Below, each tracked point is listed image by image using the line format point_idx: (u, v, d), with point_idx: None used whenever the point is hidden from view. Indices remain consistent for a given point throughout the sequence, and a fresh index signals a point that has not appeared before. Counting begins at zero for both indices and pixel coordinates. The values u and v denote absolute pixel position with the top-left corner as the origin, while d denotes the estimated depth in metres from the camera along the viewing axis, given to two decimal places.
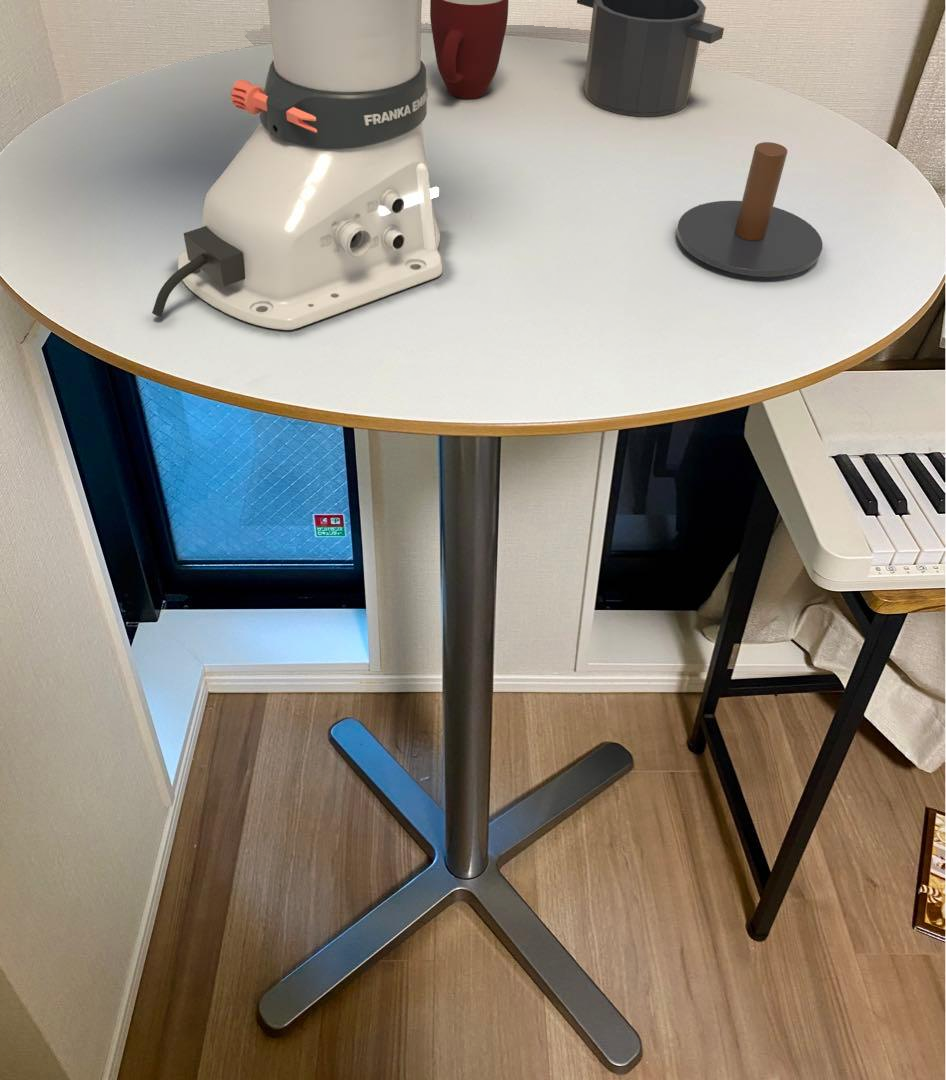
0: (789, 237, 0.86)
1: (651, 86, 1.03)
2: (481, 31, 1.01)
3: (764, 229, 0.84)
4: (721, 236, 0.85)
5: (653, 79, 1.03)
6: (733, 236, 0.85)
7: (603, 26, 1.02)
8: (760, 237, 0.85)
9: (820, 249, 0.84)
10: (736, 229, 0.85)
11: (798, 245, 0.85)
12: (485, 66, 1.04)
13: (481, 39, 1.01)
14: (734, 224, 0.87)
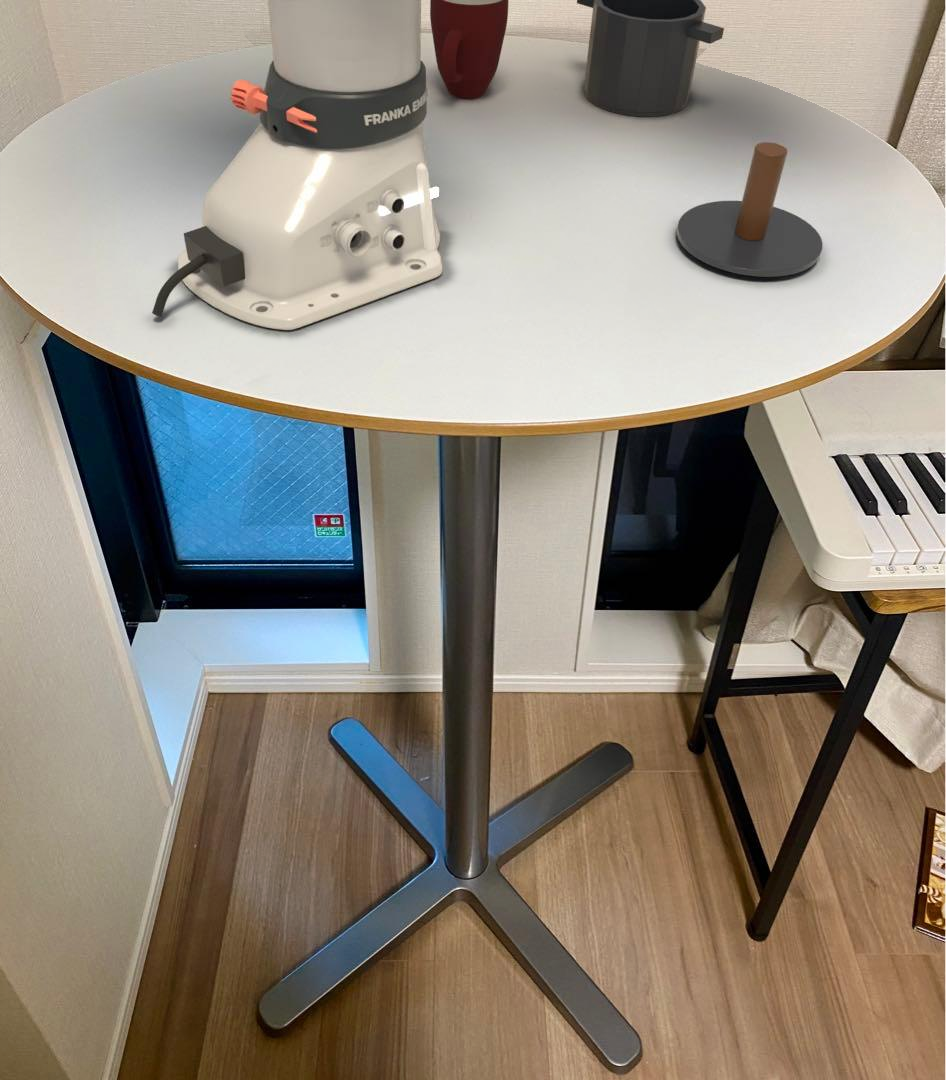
0: (789, 237, 0.86)
1: (651, 86, 1.03)
2: (481, 31, 1.01)
3: (764, 229, 0.84)
4: (721, 236, 0.85)
5: (653, 79, 1.03)
6: (733, 236, 0.85)
7: (603, 26, 1.02)
8: (760, 237, 0.85)
9: (820, 249, 0.84)
10: (736, 229, 0.85)
11: (798, 245, 0.85)
12: (485, 66, 1.04)
13: (481, 39, 1.01)
14: (734, 224, 0.87)
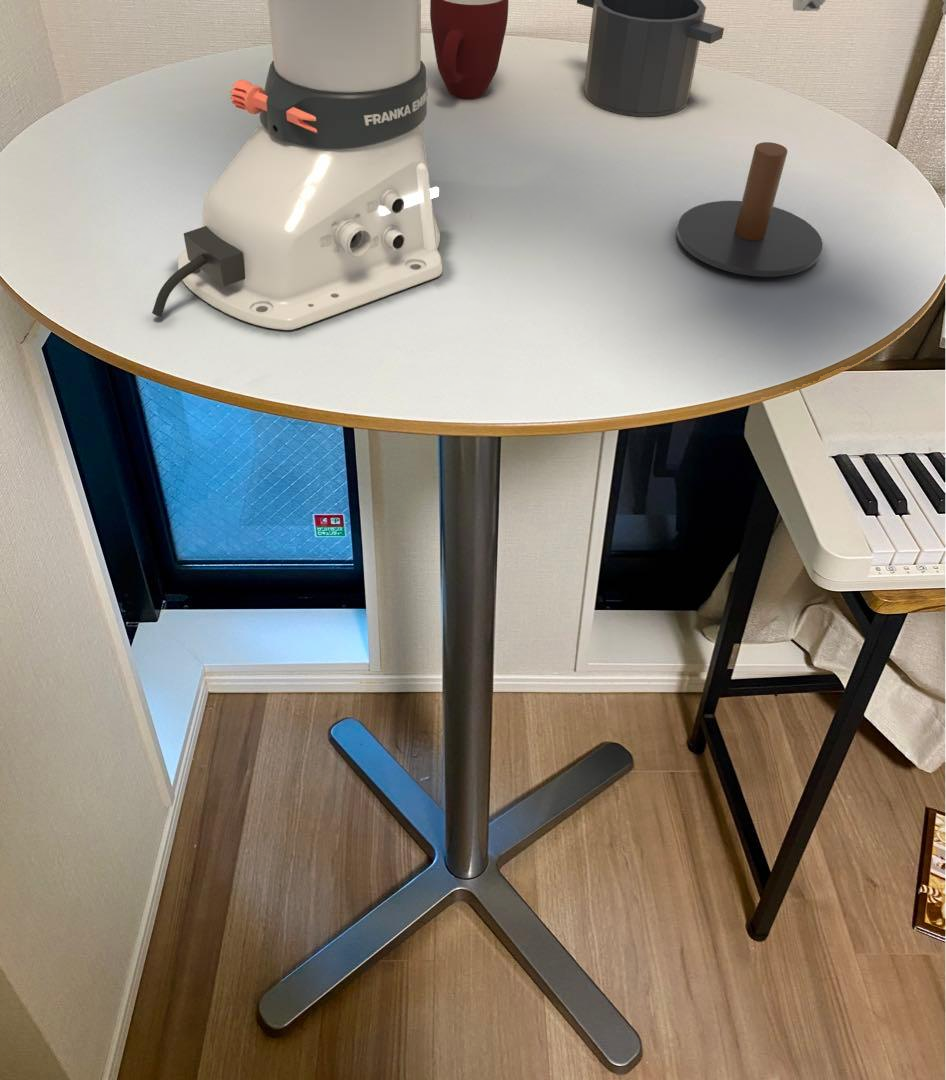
0: (789, 237, 0.86)
1: (651, 86, 1.03)
2: (481, 31, 1.01)
3: (764, 229, 0.84)
4: (721, 236, 0.85)
5: (653, 79, 1.03)
6: (733, 236, 0.85)
7: (603, 26, 1.02)
8: (760, 237, 0.85)
9: (820, 249, 0.84)
10: (736, 229, 0.85)
11: (798, 245, 0.85)
12: (485, 66, 1.04)
13: (481, 39, 1.01)
14: (734, 224, 0.87)
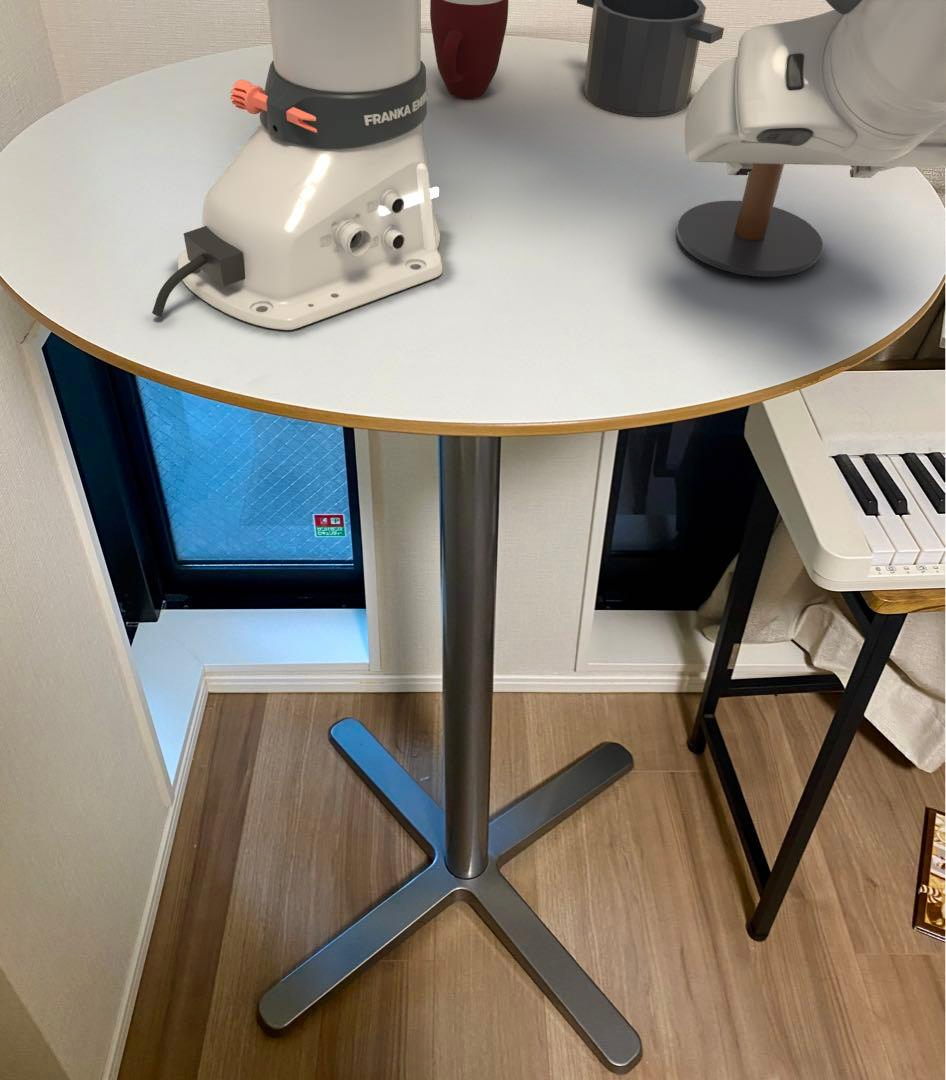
0: (789, 237, 0.86)
1: (651, 86, 1.03)
2: (481, 31, 1.01)
3: (764, 229, 0.84)
4: (721, 236, 0.85)
5: (653, 79, 1.03)
6: (733, 236, 0.85)
7: (603, 26, 1.02)
8: (760, 237, 0.85)
9: (820, 249, 0.84)
10: (736, 229, 0.85)
11: (798, 245, 0.85)
12: (485, 66, 1.04)
13: (481, 39, 1.01)
14: (734, 224, 0.87)
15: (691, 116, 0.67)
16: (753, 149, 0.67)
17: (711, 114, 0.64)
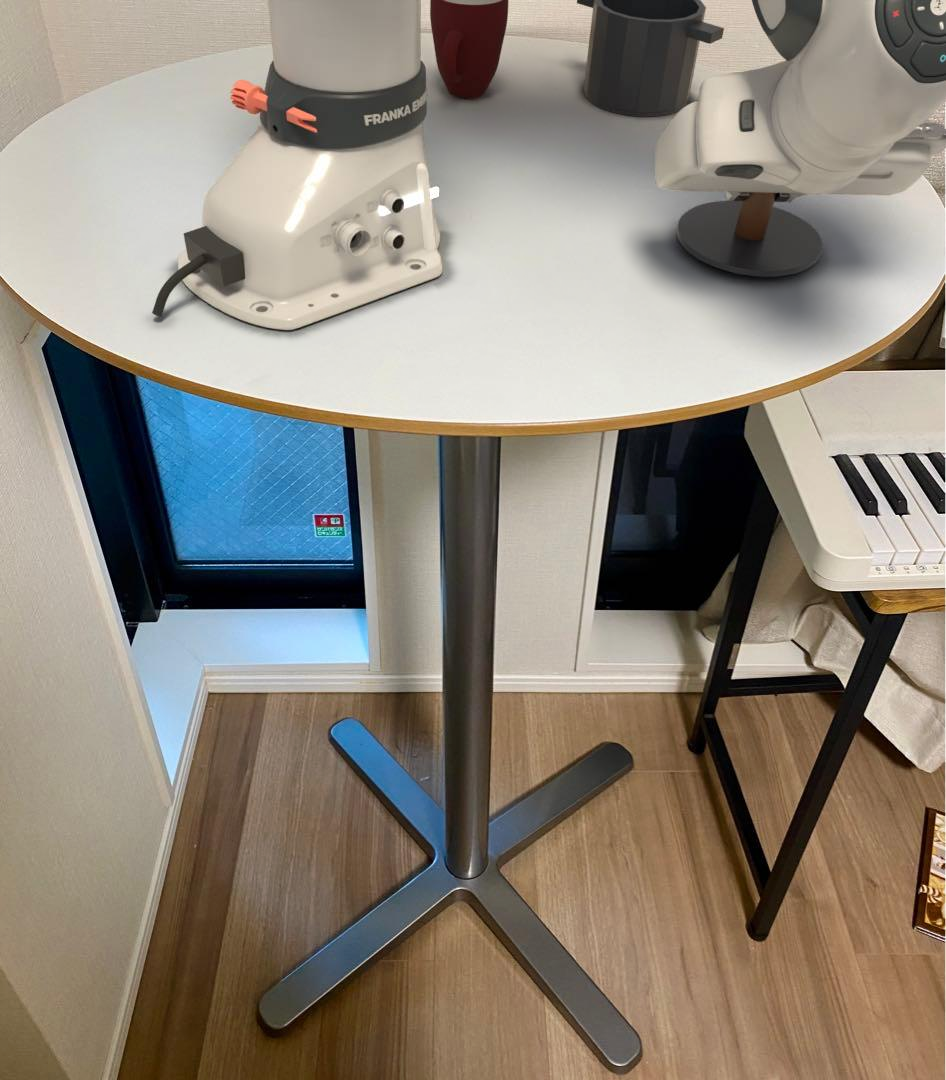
0: (789, 237, 0.86)
1: (651, 86, 1.03)
2: (481, 31, 1.01)
3: (764, 229, 0.84)
4: (721, 236, 0.85)
5: (653, 79, 1.03)
6: (733, 236, 0.85)
7: (603, 26, 1.02)
8: (760, 237, 0.85)
9: (820, 249, 0.84)
10: (736, 229, 0.85)
11: (798, 245, 0.85)
12: (485, 66, 1.04)
13: (481, 39, 1.01)
14: (734, 224, 0.87)
15: (660, 150, 0.76)
16: (714, 180, 0.76)
17: (676, 150, 0.73)
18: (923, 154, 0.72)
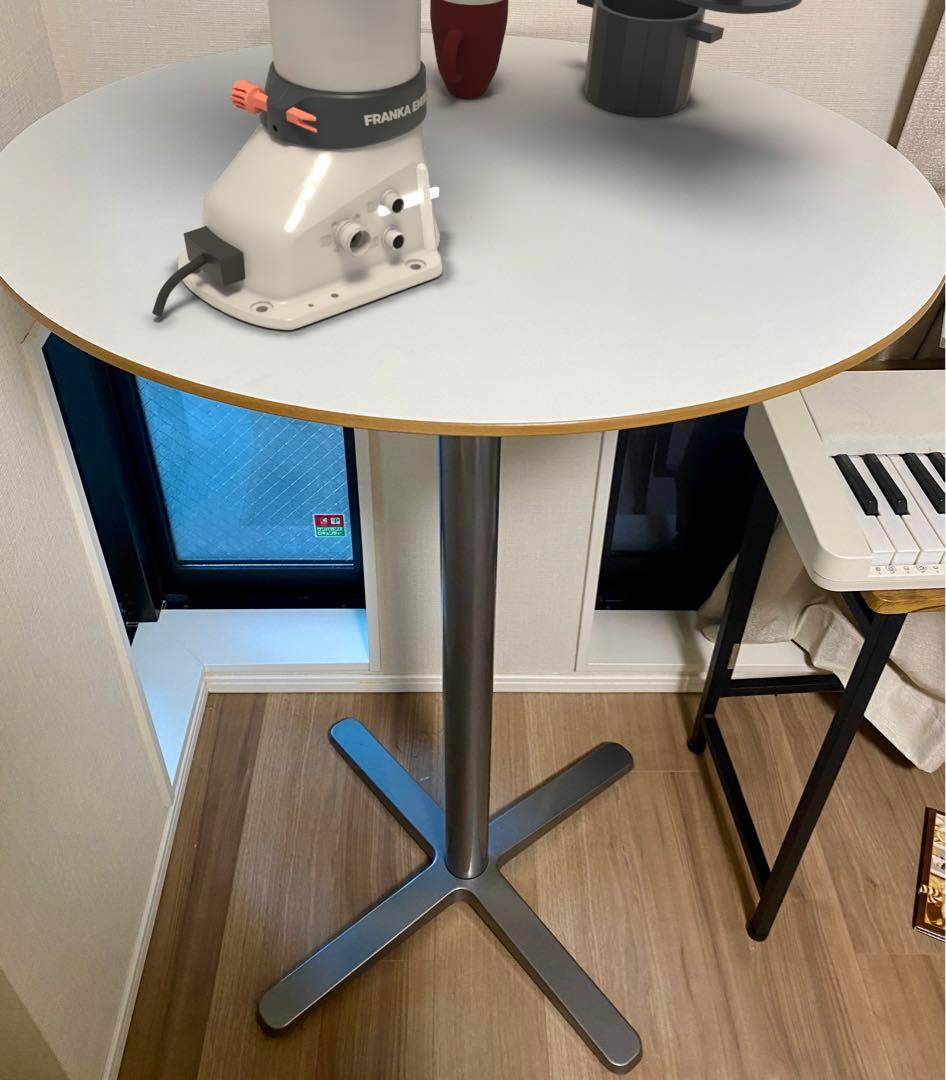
0: None
1: (651, 86, 1.03)
2: (481, 31, 1.01)
3: None
4: None
5: (653, 79, 1.03)
6: None
7: (603, 26, 1.02)
8: None
9: None
10: None
11: None
12: (485, 66, 1.04)
13: (481, 39, 1.01)
14: None
15: None
16: None
17: None
18: None
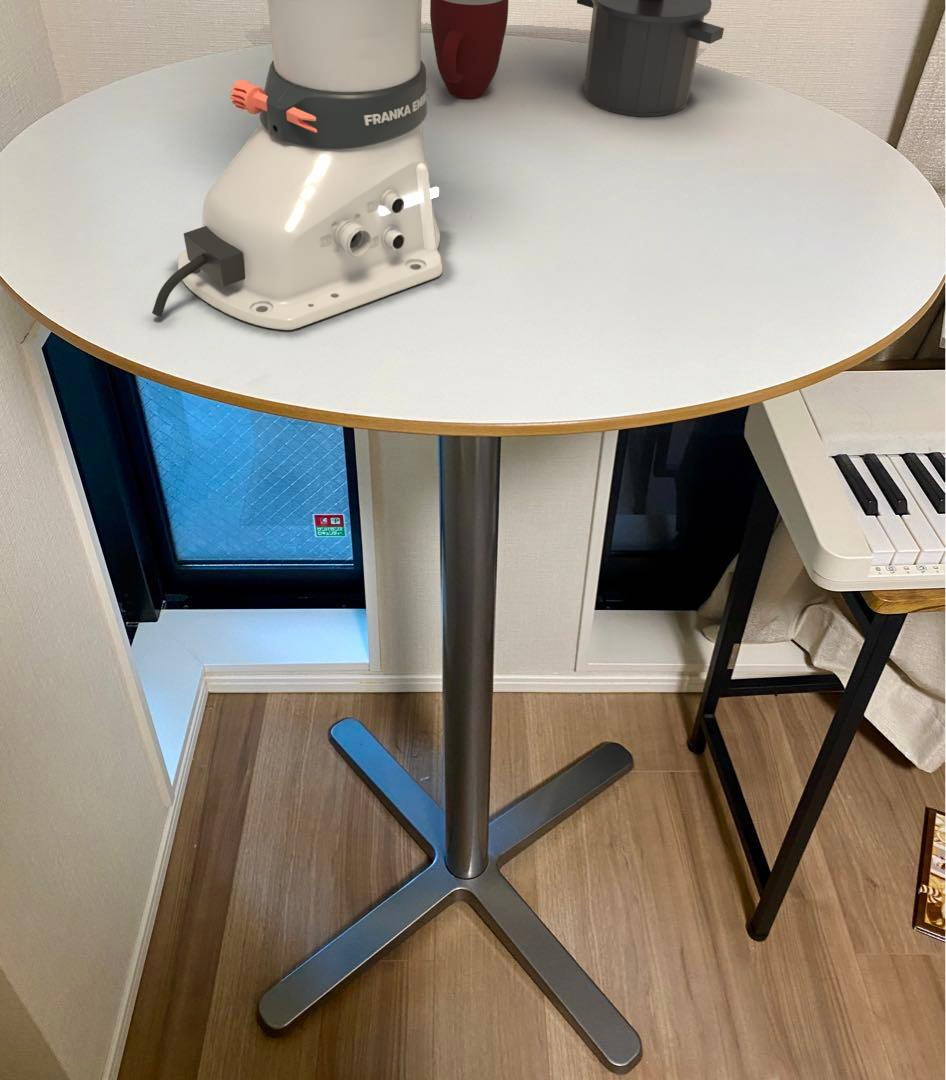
0: None
1: (651, 86, 1.03)
2: (481, 31, 1.01)
3: None
4: None
5: (653, 79, 1.03)
6: None
7: (603, 26, 1.02)
8: None
9: (709, 6, 1.01)
10: None
11: (691, 3, 1.01)
12: (485, 66, 1.04)
13: (481, 39, 1.01)
14: None
15: None
16: None
17: None
18: None
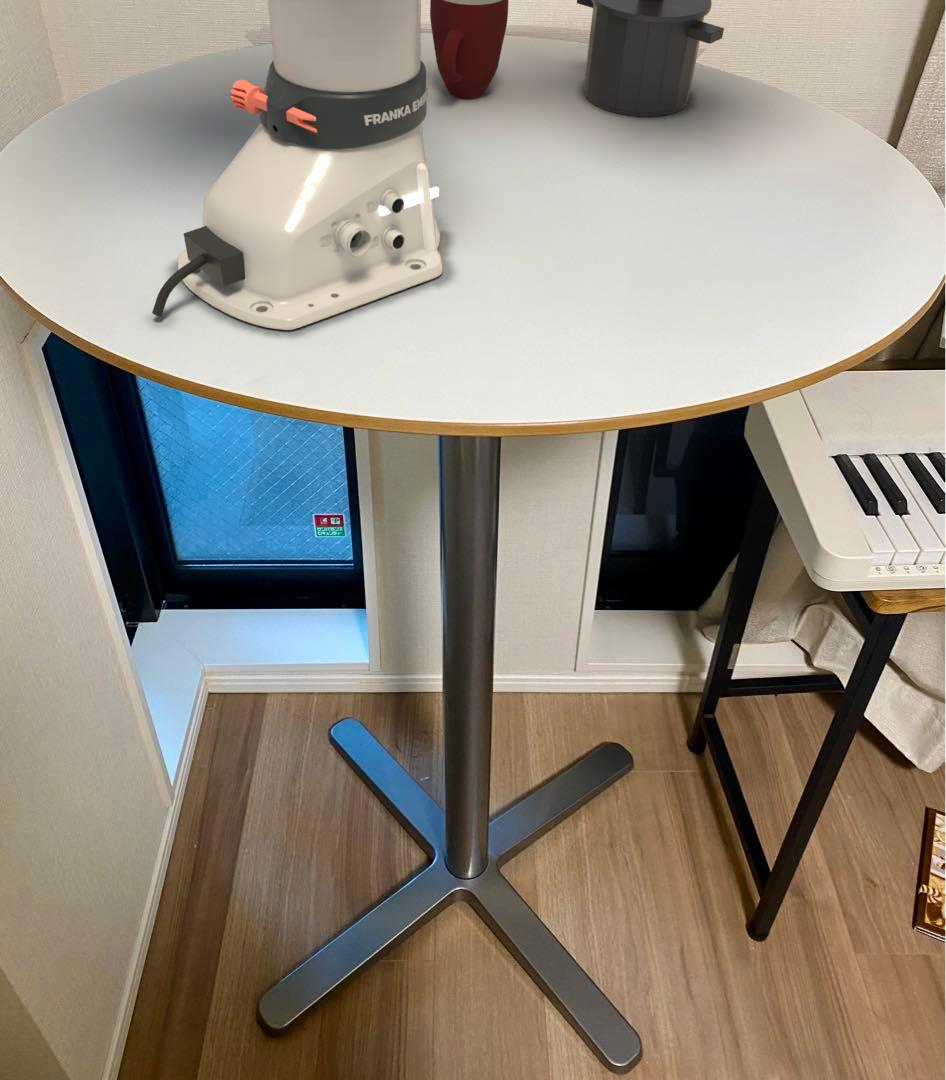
0: None
1: (651, 86, 1.03)
2: (481, 31, 1.01)
3: None
4: None
5: (653, 79, 1.03)
6: None
7: (603, 26, 1.02)
8: None
9: (709, 6, 1.01)
10: None
11: (691, 3, 1.01)
12: (485, 66, 1.04)
13: (481, 39, 1.01)
14: None
15: None
16: None
17: None
18: None
